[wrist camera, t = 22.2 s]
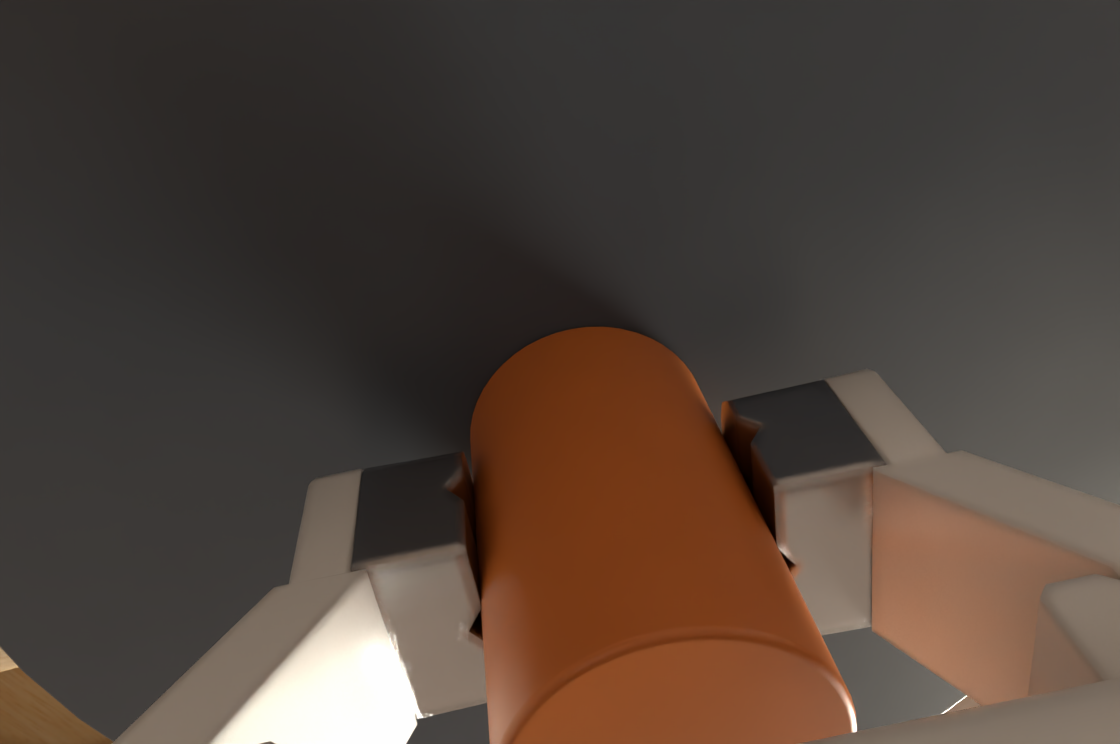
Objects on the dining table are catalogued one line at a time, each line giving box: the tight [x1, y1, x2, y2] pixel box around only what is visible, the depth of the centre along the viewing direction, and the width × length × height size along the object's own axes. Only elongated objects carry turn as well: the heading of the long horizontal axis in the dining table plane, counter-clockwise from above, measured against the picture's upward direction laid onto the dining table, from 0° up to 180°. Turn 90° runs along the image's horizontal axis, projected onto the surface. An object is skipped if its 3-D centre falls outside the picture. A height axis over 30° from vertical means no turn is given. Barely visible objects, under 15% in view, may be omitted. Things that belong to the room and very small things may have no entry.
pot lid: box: [0, 0, 1120, 744], centre depth 9 cm, size 15×15×6 cm
